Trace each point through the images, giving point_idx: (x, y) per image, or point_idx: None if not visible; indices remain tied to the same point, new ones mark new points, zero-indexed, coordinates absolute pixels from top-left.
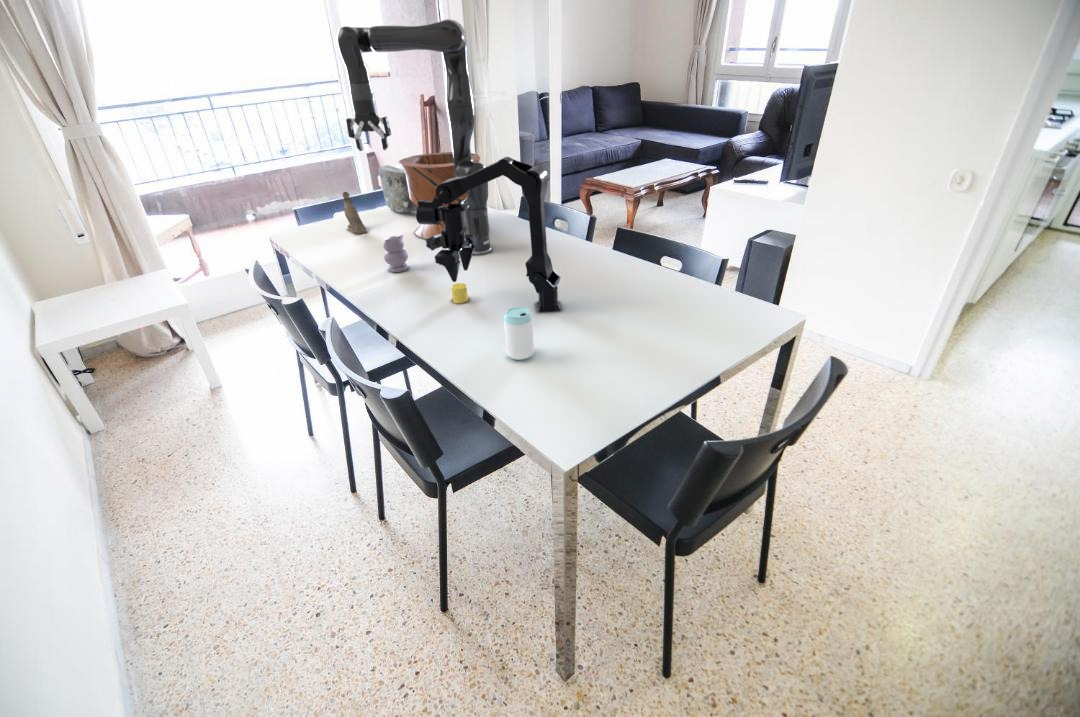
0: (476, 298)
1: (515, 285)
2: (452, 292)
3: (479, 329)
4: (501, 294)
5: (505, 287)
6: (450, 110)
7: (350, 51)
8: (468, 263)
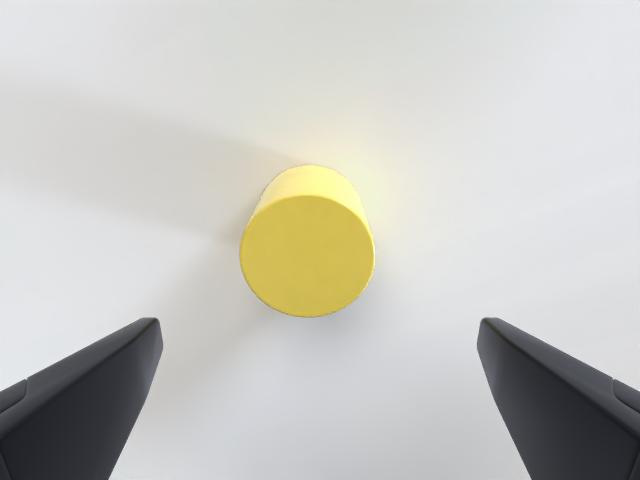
0: (355, 302)
1: None
2: (260, 203)
3: None
4: (427, 411)
5: None
6: None
7: None
8: (511, 433)
